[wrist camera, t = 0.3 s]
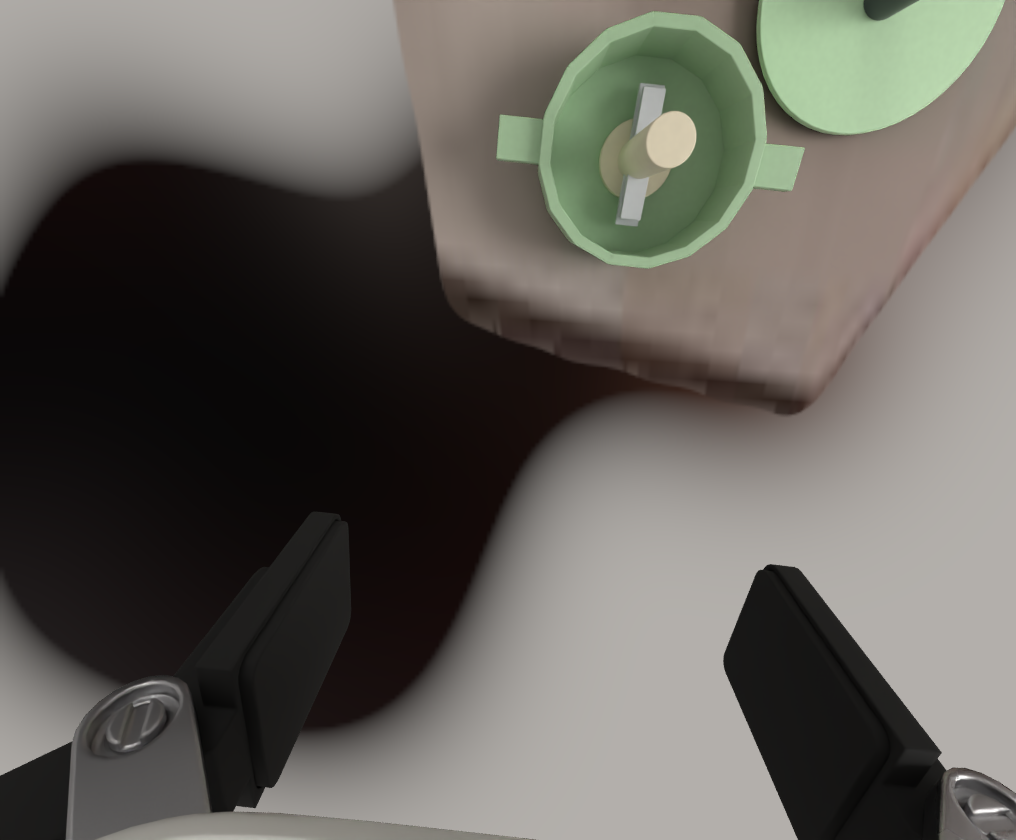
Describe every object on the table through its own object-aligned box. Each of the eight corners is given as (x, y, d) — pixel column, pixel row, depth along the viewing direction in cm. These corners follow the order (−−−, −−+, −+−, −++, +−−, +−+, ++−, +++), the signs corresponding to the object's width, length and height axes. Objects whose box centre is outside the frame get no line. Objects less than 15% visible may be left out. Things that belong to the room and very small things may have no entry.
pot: (511, 31, 31) (508, -6, 26) (795, 62, 31) (847, 31, 26) (494, 246, 36) (488, 251, 31) (736, 273, 36) (769, 282, 31)
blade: (610, 86, 31) (640, 34, 23) (684, 94, 31) (743, 45, 23) (589, 221, 35) (608, 222, 26) (656, 229, 35) (698, 232, 26)
